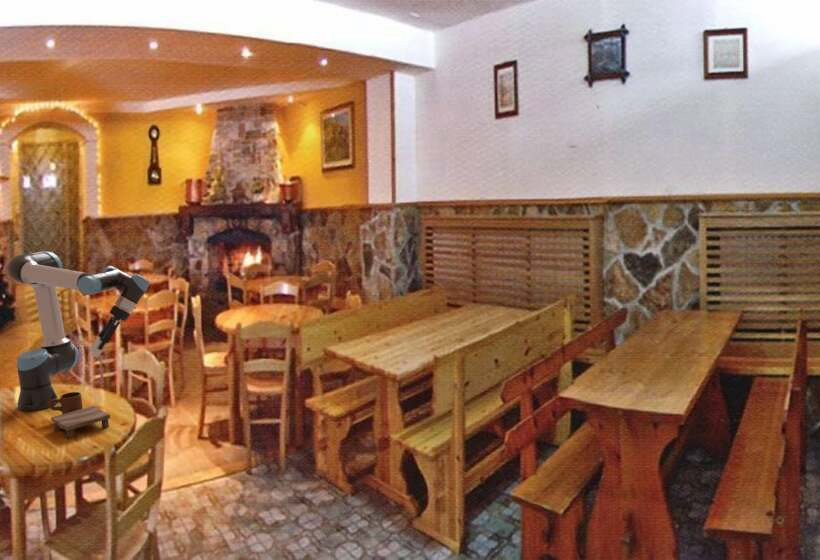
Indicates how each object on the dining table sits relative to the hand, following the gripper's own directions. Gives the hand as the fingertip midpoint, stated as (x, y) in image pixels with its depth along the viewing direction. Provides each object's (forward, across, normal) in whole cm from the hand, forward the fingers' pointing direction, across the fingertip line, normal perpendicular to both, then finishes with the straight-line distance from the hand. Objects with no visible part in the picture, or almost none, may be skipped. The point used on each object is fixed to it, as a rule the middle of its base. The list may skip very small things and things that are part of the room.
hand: (93, 354), depth 265 cm
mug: (+27, +2, -6) cm, 28 cm away
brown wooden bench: (+26, -13, -10) cm, 30 cm away
